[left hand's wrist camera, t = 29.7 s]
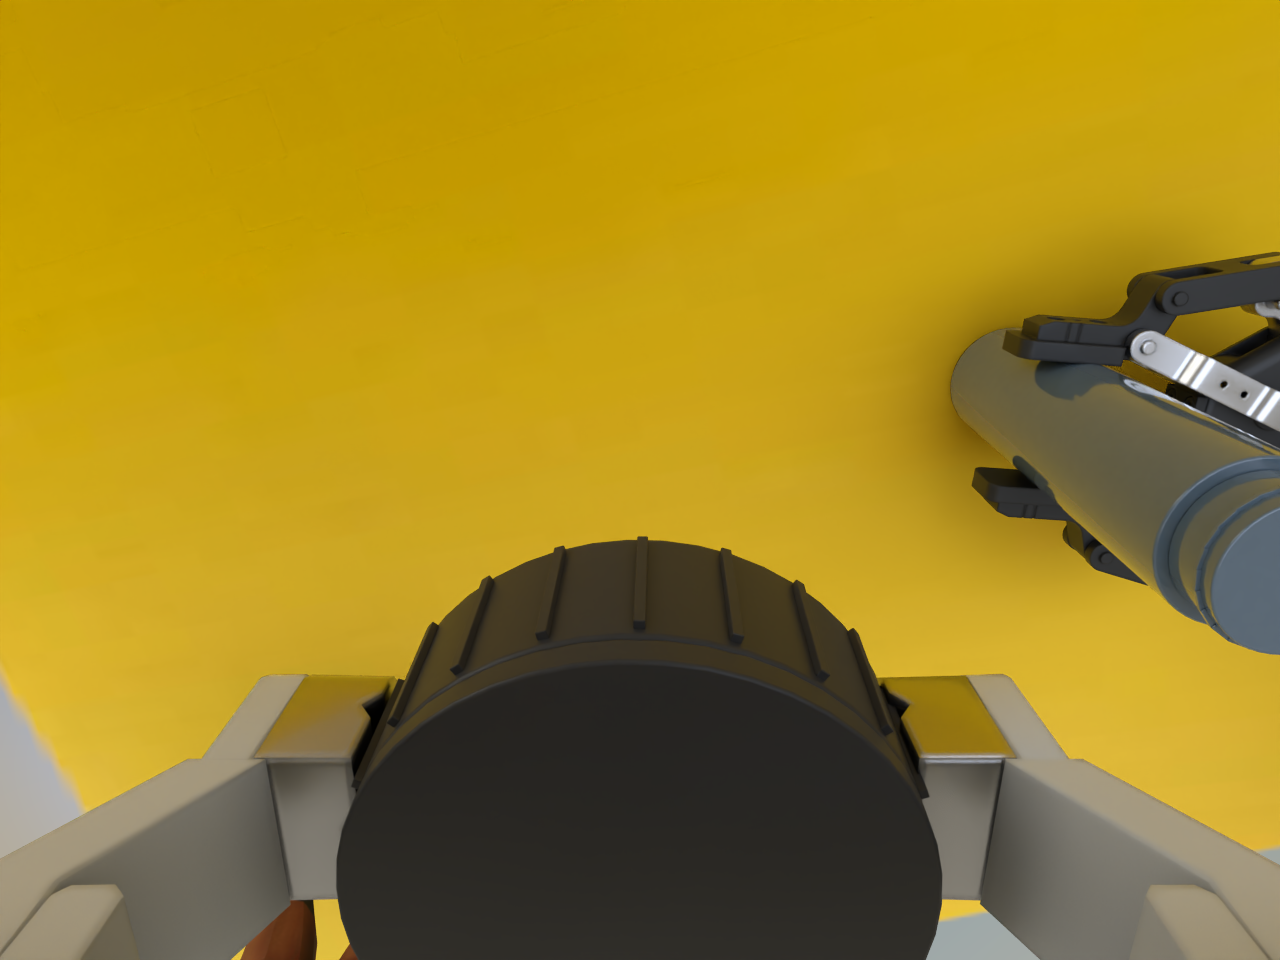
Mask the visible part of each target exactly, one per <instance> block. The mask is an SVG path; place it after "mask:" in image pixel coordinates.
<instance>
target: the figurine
mask: <svg viewBox="0 0 1280 960" xmlns="http://www.w3.org/2000/svg"><path fill="white" fill-rule="evenodd" d="M290 903H291V905H290V906H289V907H287V908H286V909H285V910H284V911H283V912H282V913H281V914H280V915H279V916H278V917H277V918H275V919H274V920H273V921H272V922H271V923H270V924H269V925H268V926H267V927H266V928H265V929H263V930H262V931H261V932H260V933H259V934H258V935H257V936H256V937H255V938H254V939H253V940H251V941H250V942H249V943H248V944H247V945H246V947H245V950H244V952H243V955H242V957H241V960H315V959H316V949H317V936H316V926H315V916H314V905H313V900H290ZM339 960H358V958H357V957H356V955H355V953H354V951H353V949H352V947H351V945H350V944H349V946H348V947H347V949H346V950H345V952H344V954H343V955H342V957H341V958H340V959H339Z"/></svg>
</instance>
